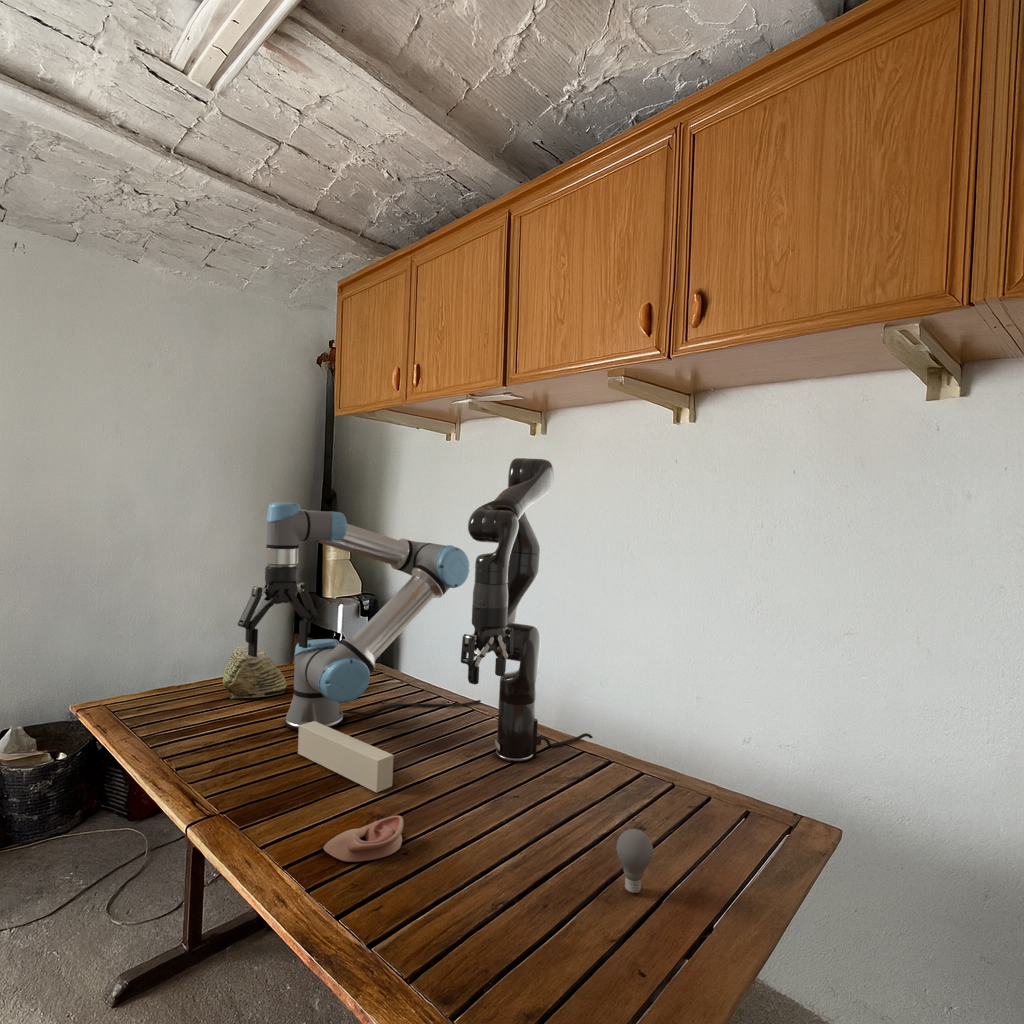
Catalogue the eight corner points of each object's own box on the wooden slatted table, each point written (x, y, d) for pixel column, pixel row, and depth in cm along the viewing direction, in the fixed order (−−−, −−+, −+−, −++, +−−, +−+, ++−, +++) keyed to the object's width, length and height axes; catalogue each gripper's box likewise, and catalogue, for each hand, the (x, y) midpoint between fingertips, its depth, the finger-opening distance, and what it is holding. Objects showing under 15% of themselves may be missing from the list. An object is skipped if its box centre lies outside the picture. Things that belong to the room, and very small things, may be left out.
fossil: (218, 695, 195) (220, 647, 195) (278, 685, 208) (279, 640, 207) (228, 703, 189) (230, 653, 188) (289, 692, 201) (290, 645, 201)
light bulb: (610, 879, 108) (613, 822, 108) (644, 879, 109) (647, 822, 109) (619, 902, 102) (622, 840, 102) (655, 901, 103) (658, 840, 103)
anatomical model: (315, 834, 111) (345, 804, 122) (314, 856, 111) (344, 824, 123) (386, 846, 109) (410, 814, 120) (385, 869, 109) (409, 834, 120)
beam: (297, 753, 155) (298, 725, 155) (313, 748, 159) (314, 720, 159) (376, 792, 137) (377, 760, 136) (392, 786, 140) (393, 754, 140)
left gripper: (316, 561, 167) (313, 641, 168) (224, 566, 148) (221, 656, 148) (333, 564, 163) (330, 646, 163) (240, 569, 143) (237, 663, 144)
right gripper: (498, 598, 142) (495, 669, 142) (454, 604, 131) (450, 682, 131) (524, 602, 137) (521, 676, 138) (481, 609, 126) (477, 690, 127)
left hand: (278, 651), depth 156 cm, fingers open, 13 cm apart
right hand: (486, 679), depth 135 cm, fingers open, 8 cm apart
